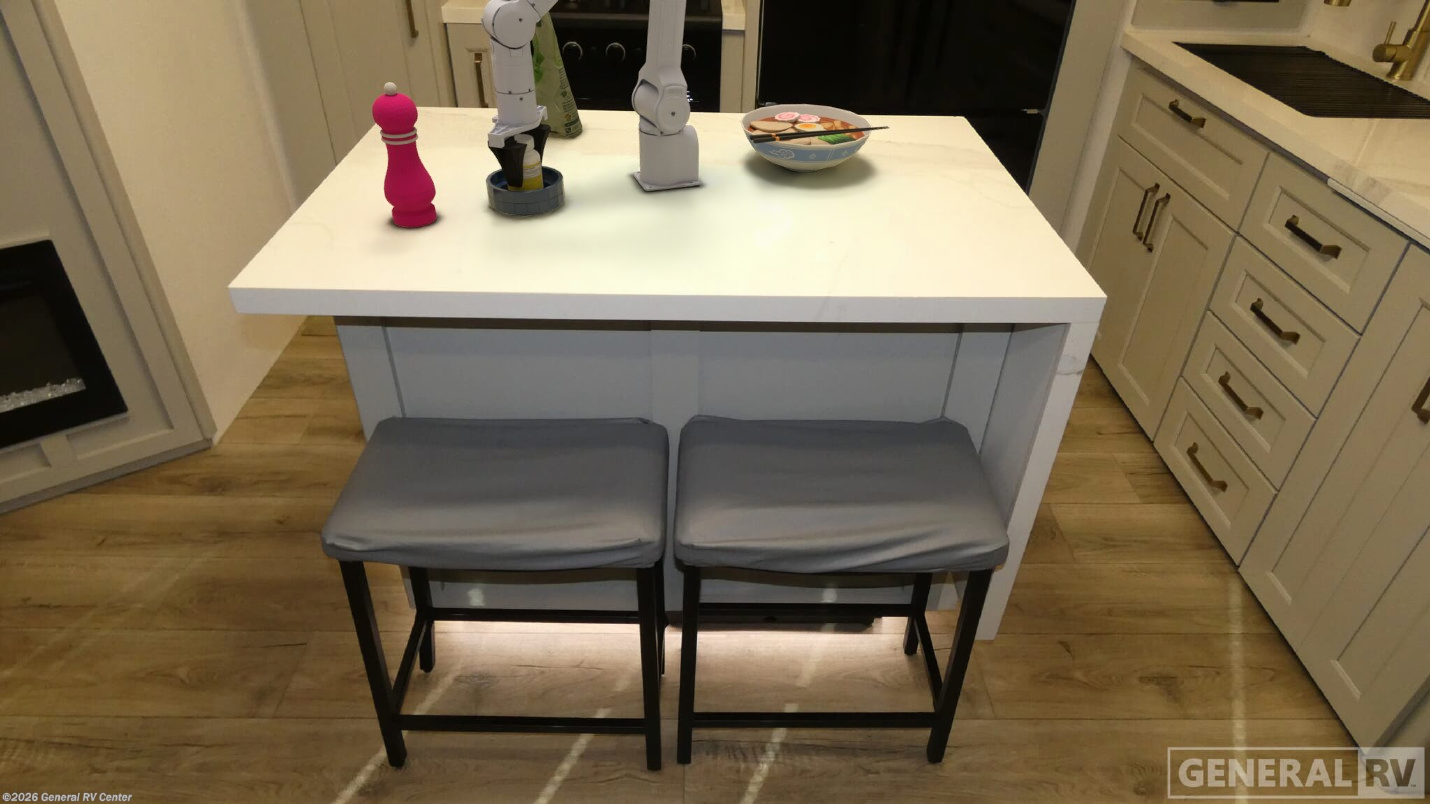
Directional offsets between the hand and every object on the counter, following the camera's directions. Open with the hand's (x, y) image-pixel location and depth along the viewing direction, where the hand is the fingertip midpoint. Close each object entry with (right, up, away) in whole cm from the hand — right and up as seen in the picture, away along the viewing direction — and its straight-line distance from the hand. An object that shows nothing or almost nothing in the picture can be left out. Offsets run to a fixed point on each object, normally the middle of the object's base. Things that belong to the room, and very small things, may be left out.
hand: (524, 179), depth 133 cm
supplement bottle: (0, -3, +2) cm, 4 cm away
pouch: (-1, +17, +32) cm, 36 cm away
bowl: (0, -3, +2) cm, 4 cm away
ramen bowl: (+45, +7, +19) cm, 49 cm away
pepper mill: (-16, -7, -3) cm, 18 cm away
